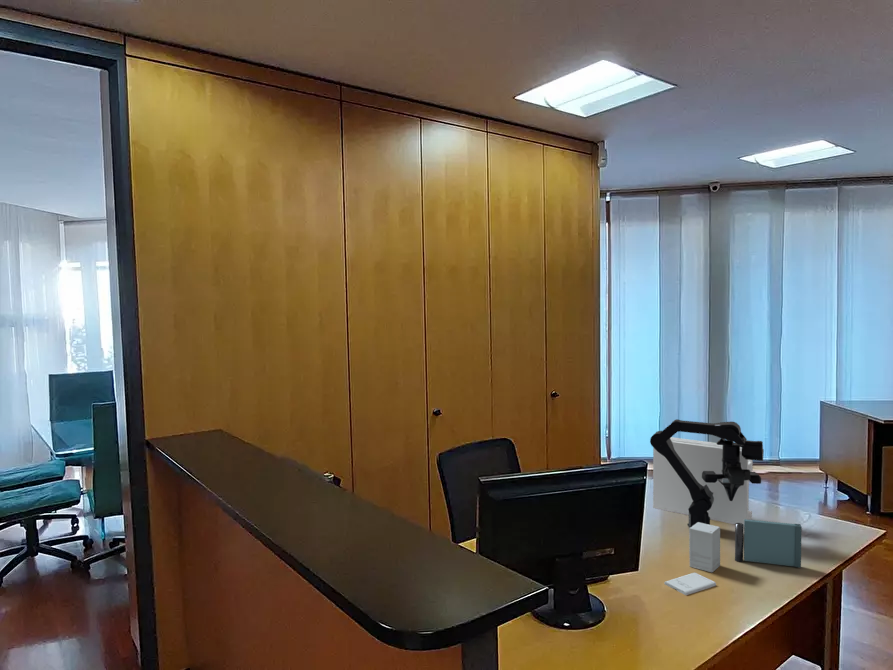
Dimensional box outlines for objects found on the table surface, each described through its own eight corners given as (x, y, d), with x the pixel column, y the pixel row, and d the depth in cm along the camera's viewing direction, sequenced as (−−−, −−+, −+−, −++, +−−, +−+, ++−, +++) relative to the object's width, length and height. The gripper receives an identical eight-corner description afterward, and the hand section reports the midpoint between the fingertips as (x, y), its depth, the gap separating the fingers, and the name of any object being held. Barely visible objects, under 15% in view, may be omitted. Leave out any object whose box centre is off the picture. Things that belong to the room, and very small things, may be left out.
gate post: (736, 561, 204) (736, 525, 203) (733, 558, 206) (734, 522, 206) (744, 562, 204) (744, 525, 203) (741, 559, 206) (742, 522, 205)
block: (653, 508, 256) (653, 439, 254) (660, 502, 263) (660, 435, 261) (746, 526, 234) (747, 451, 233) (751, 520, 241) (752, 447, 239)
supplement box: (720, 565, 202) (721, 526, 201) (712, 573, 196) (712, 533, 195) (697, 559, 207) (697, 521, 206) (688, 566, 201) (688, 527, 200)
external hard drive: (716, 587, 188) (685, 597, 182) (693, 577, 195) (664, 586, 190) (716, 582, 188) (685, 591, 182) (693, 571, 195) (664, 580, 190)
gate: (744, 561, 203) (744, 521, 203) (743, 558, 206) (744, 518, 205) (800, 567, 198) (801, 526, 197) (799, 564, 200) (800, 524, 199)
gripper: (709, 463, 219) (709, 507, 220) (767, 464, 217) (766, 509, 218) (701, 455, 230) (701, 497, 231) (755, 456, 228) (755, 498, 229)
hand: (730, 500), depth 227 cm, fingers closed
